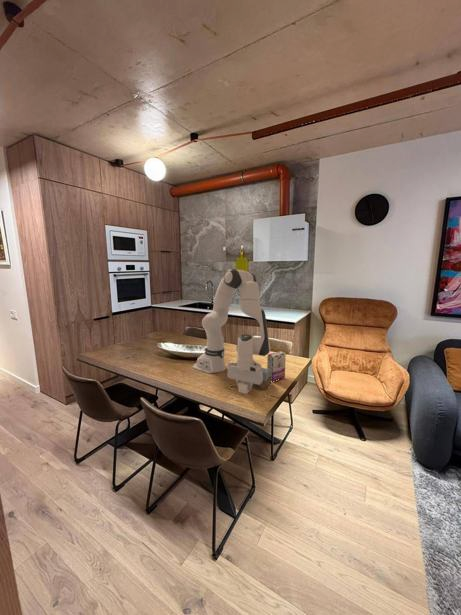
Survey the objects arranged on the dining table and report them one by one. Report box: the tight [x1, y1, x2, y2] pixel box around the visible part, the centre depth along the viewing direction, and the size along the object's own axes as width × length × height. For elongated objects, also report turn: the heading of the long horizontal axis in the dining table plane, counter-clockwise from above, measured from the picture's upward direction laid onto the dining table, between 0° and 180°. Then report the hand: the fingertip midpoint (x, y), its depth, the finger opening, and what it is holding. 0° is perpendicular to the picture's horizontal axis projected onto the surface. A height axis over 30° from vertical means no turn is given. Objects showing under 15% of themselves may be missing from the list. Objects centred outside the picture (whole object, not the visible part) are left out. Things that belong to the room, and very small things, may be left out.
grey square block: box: [261, 367, 270, 381], centre depth 149 cm, size 7×7×4 cm
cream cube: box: [238, 381, 251, 395], centre depth 142 cm, size 5×5×5 cm
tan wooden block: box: [252, 376, 272, 391], centre depth 149 cm, size 9×9×5 cm
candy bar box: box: [266, 350, 287, 383], centre depth 157 cm, size 11×5×16 cm, turn 126°
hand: (244, 388), depth 143 cm, fingers closed on cream cube, 5 cm apart
